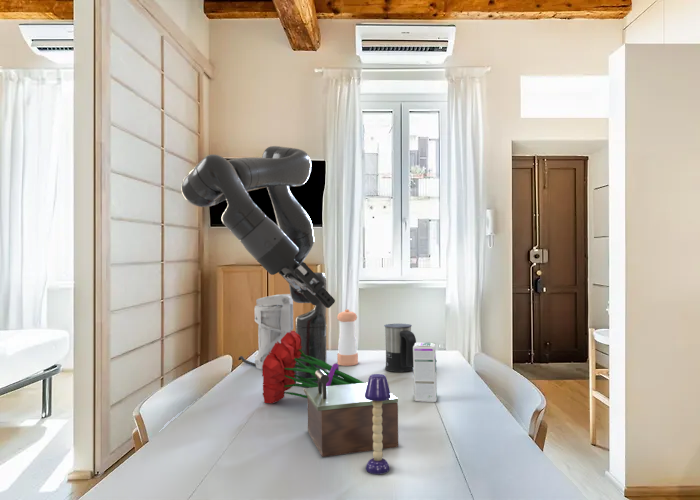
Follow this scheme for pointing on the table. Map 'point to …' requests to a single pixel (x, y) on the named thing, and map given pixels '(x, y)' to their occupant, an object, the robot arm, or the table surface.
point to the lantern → (272, 323)
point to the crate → (351, 428)
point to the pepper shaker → (347, 339)
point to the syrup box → (424, 372)
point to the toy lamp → (377, 421)
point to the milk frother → (399, 347)
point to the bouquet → (282, 370)
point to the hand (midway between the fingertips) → (324, 303)
